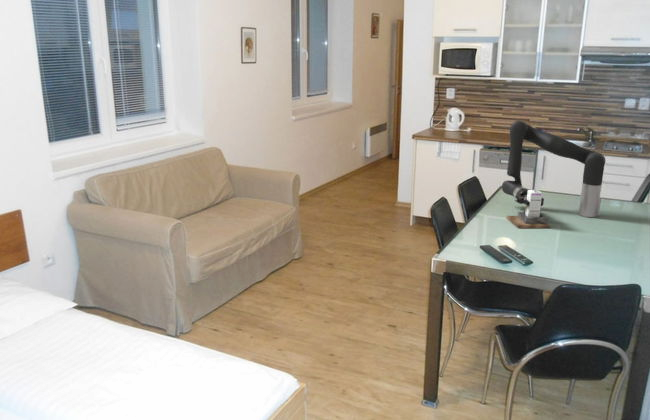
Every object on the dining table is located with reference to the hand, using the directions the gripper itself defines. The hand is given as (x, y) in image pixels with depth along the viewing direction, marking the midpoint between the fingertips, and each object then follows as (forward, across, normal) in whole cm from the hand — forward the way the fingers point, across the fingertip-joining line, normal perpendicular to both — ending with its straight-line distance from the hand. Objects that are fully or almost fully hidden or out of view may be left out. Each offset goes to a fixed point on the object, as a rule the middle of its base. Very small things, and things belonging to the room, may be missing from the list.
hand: (535, 204), depth 287 cm
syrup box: (-2, 0, +9) cm, 9 cm away
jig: (-2, -2, +11) cm, 11 cm away
